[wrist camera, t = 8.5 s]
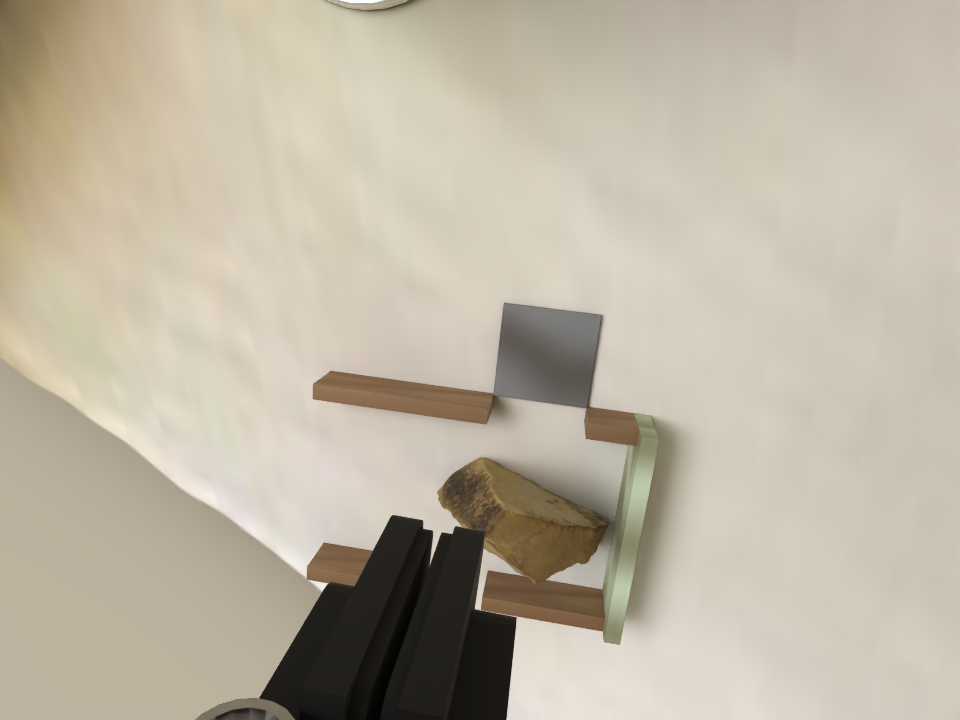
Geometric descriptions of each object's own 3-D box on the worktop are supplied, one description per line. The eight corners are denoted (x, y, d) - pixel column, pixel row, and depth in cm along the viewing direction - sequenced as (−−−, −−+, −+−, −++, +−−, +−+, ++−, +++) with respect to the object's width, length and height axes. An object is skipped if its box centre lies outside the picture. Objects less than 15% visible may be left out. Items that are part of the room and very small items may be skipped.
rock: (659, 525, 38) (558, 414, 36) (610, 652, 33) (488, 534, 31) (545, 534, 47) (457, 444, 44) (492, 637, 42) (389, 543, 39)
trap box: (334, 281, 39) (309, 290, 36) (667, 323, 37) (679, 337, 34) (323, 555, 45) (300, 588, 41) (614, 604, 43) (619, 644, 39)
